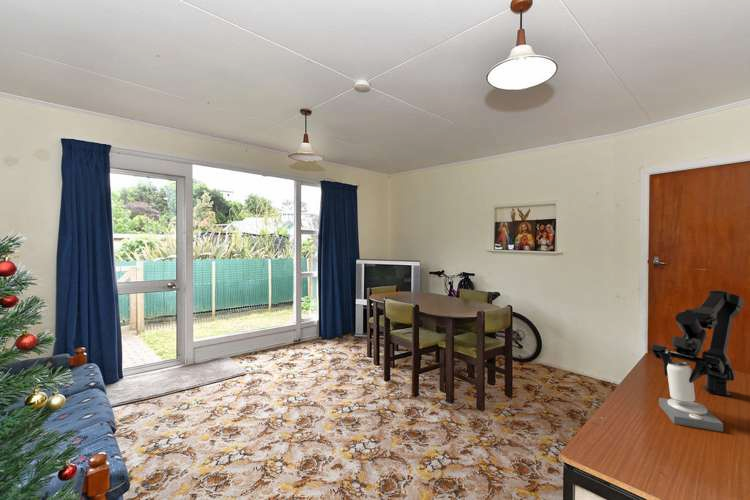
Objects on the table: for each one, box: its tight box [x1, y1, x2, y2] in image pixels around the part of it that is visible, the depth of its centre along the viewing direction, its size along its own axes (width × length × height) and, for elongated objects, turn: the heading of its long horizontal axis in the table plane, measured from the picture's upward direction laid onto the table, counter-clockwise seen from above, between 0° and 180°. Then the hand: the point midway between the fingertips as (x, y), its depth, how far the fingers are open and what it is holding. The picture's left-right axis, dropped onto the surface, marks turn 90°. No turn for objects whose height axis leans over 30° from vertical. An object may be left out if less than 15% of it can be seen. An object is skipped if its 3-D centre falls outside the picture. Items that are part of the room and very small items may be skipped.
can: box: [667, 360, 696, 403], centre depth 118 cm, size 6×6×12 cm
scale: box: [658, 397, 724, 433], centre depth 115 cm, size 14×12×3 cm
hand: (677, 378), depth 117 cm, fingers closed on can, 6 cm apart
